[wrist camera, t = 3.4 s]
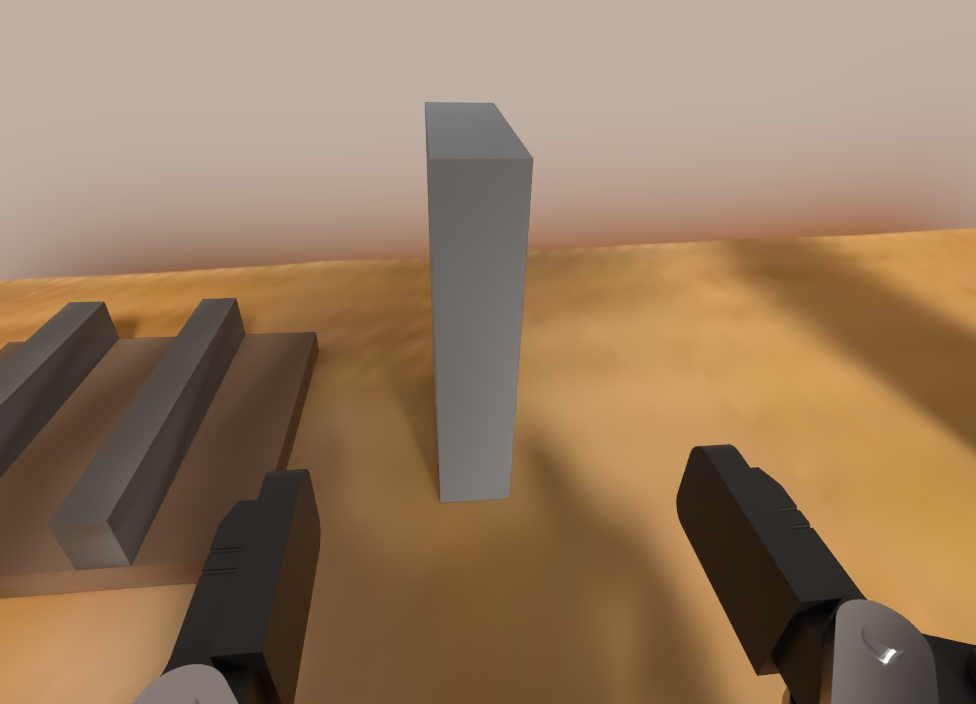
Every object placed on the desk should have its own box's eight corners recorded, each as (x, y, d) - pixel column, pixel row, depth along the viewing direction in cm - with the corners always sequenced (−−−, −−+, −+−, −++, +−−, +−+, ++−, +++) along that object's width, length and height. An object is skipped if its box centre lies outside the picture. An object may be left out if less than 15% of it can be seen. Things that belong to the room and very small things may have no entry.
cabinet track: (318, 349, 28) (309, 296, 26) (257, 577, 17) (234, 512, 15) (18, 359, 26) (-12, 304, 24) (-261, 619, 15) (-348, 551, 14)
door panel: (485, 371, 26) (493, 103, 20) (509, 498, 20) (533, 158, 13) (433, 373, 26) (424, 102, 20) (440, 502, 20) (430, 158, 13)
